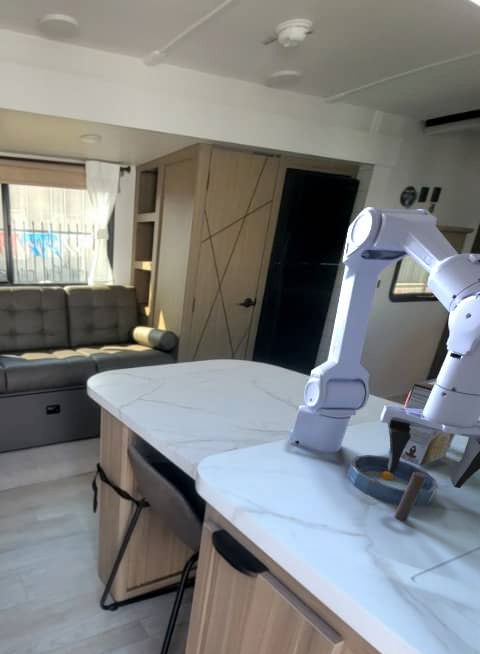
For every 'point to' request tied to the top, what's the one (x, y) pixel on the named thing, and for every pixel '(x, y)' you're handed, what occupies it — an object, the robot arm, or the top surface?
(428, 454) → the coffee box
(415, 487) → the stick
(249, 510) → the top surface
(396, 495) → the bowl
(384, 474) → the bead
